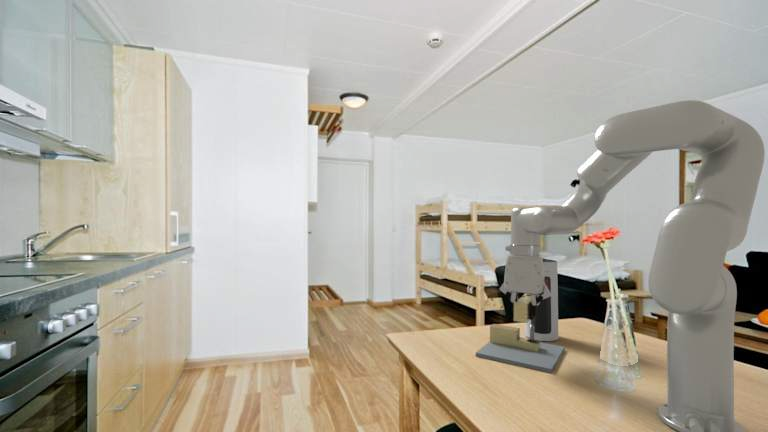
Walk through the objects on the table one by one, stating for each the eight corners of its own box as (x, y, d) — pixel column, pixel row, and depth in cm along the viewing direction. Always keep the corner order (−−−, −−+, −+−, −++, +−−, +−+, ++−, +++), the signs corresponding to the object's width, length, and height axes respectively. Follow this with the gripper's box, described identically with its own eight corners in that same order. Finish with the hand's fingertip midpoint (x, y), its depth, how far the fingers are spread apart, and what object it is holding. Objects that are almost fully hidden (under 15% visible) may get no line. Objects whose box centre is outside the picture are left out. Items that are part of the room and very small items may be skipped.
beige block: (528, 323, 96) (528, 304, 96) (512, 320, 98) (512, 302, 98) (539, 312, 107) (539, 295, 107) (525, 310, 110) (525, 293, 110)
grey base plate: (551, 373, 92) (551, 369, 92) (475, 356, 104) (475, 352, 104) (564, 350, 109) (564, 346, 109) (497, 337, 120) (497, 334, 120)
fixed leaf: (537, 352, 104) (537, 327, 104) (489, 342, 112) (489, 320, 112) (540, 348, 107) (540, 324, 107) (493, 339, 115) (493, 317, 115)
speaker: (520, 337, 120) (519, 259, 121) (529, 330, 129) (528, 256, 129) (554, 344, 114) (554, 261, 114) (561, 336, 122) (561, 258, 123)
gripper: (491, 250, 102) (490, 315, 102) (555, 254, 93) (554, 326, 93) (499, 248, 108) (498, 310, 108) (560, 252, 99) (559, 319, 99)
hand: (524, 316), depth 101 cm, fingers closed on beige block, 3 cm apart
